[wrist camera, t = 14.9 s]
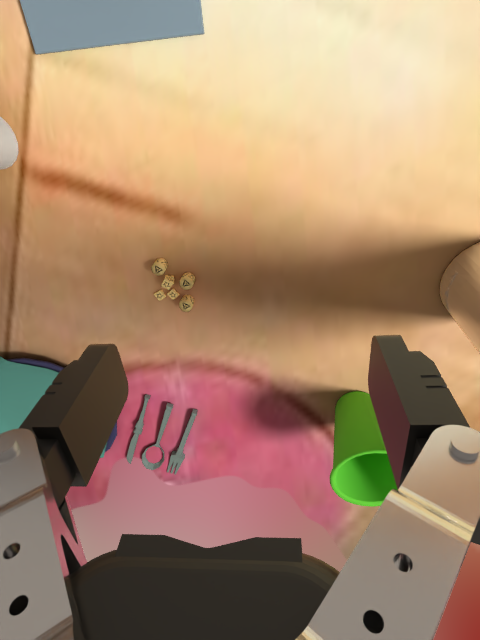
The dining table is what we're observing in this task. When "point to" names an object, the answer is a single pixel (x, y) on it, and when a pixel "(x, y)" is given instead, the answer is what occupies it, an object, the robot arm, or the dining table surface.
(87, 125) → the dining table surface
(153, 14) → the rubber mat
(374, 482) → the cup
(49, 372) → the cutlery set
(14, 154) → the chalice
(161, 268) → the dice set
